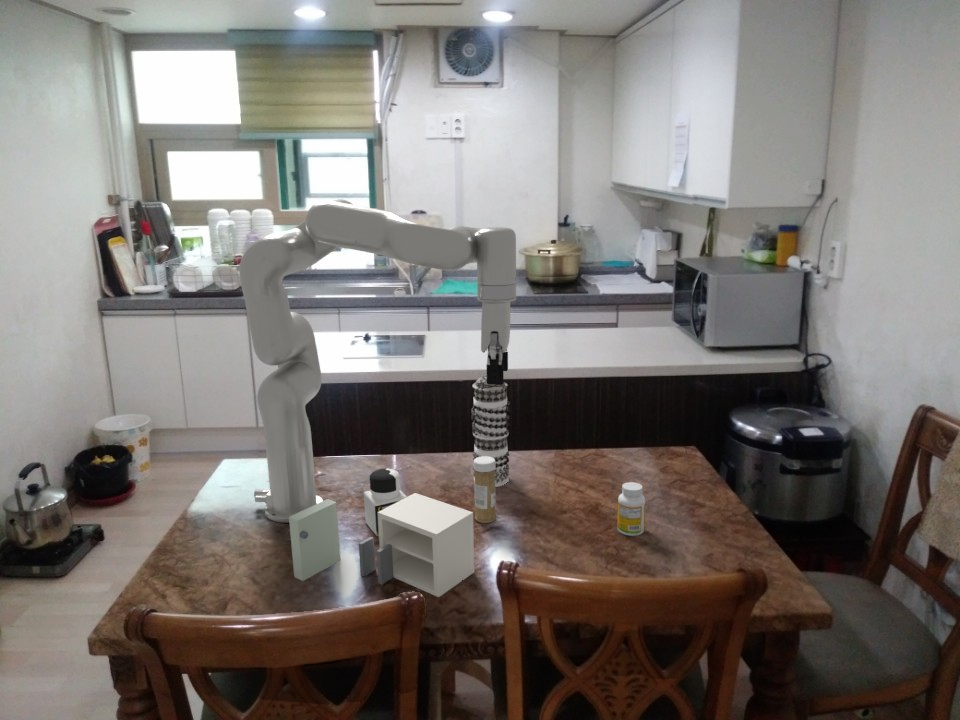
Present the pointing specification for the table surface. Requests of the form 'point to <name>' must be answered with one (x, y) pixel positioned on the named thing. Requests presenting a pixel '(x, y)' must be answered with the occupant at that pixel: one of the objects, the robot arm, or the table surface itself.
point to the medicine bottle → (381, 495)
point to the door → (314, 539)
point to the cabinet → (421, 544)
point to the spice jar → (485, 489)
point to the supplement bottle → (631, 509)
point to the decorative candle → (491, 426)
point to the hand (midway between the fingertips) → (497, 377)
